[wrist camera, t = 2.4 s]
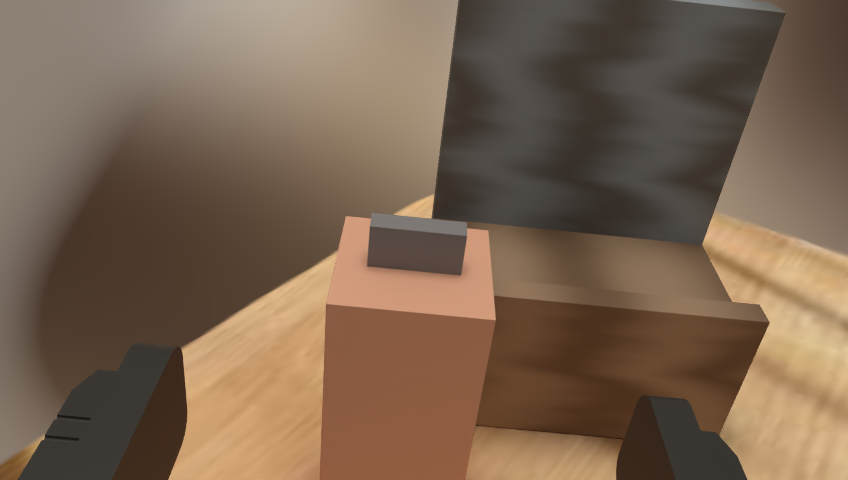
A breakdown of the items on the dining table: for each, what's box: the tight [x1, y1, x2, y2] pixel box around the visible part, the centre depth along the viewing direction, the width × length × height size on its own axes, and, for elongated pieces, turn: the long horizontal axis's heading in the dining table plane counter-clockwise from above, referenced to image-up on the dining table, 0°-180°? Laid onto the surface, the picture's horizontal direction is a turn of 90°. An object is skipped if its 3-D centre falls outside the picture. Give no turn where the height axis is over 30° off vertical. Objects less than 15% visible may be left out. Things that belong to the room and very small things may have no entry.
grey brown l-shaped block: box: [432, 0, 786, 439], centre depth 34 cm, size 14×10×18 cm
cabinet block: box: [320, 213, 496, 480], centre depth 27 cm, size 5×5×14 cm
